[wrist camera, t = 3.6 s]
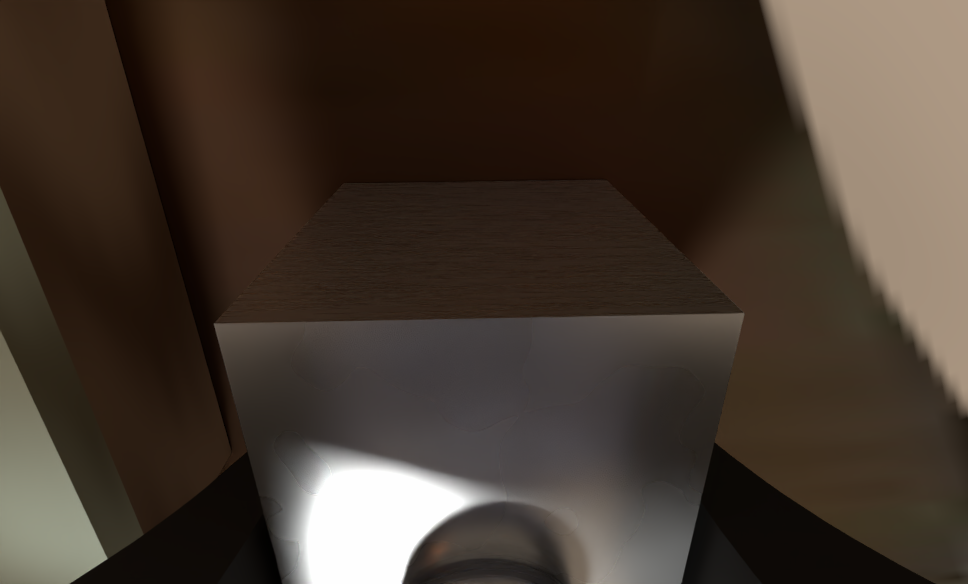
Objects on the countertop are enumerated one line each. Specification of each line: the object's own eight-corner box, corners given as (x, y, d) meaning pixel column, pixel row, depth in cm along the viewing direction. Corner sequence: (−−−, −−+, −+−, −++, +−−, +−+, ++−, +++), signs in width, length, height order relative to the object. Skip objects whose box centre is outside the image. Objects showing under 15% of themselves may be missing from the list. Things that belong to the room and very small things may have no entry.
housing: (574, 517, 14) (649, 849, 8) (386, 522, 14) (326, 862, 8) (605, 179, 10) (792, 359, 4) (343, 183, 10) (168, 371, 4)
